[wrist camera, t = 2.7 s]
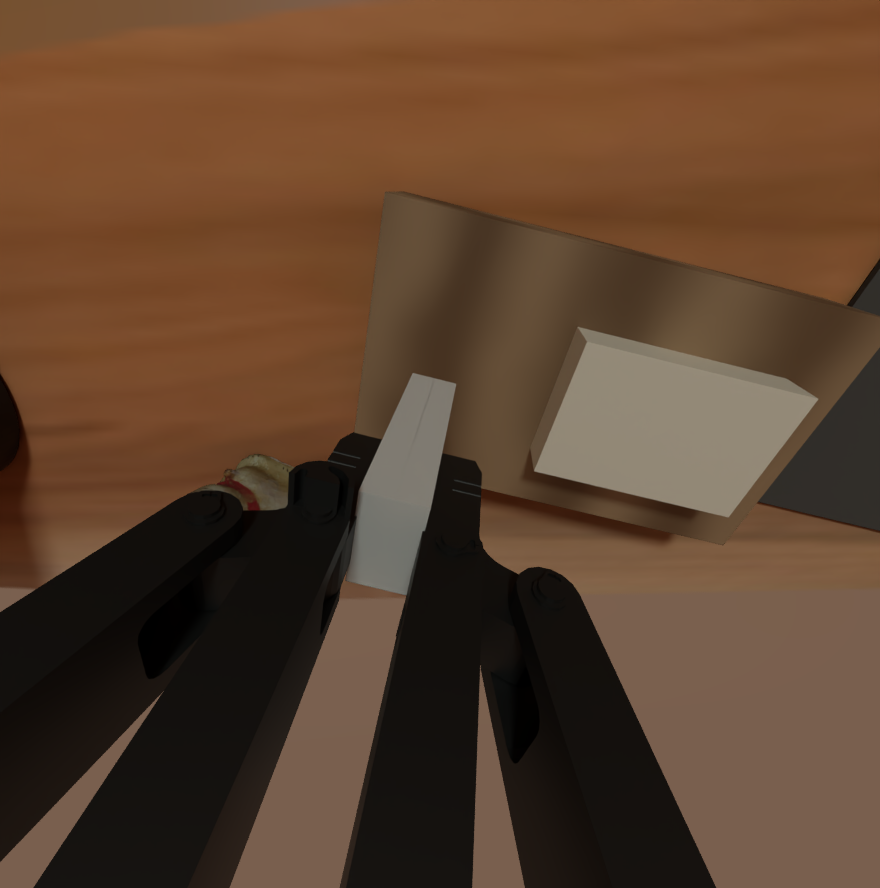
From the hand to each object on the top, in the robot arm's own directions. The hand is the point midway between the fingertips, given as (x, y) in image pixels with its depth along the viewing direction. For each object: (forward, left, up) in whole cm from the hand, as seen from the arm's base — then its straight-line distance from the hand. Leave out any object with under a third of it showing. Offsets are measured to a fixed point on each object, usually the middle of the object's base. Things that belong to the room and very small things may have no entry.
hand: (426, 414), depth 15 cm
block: (+10, 0, -5) cm, 11 cm away
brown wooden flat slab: (+7, 0, -9) cm, 11 cm away
